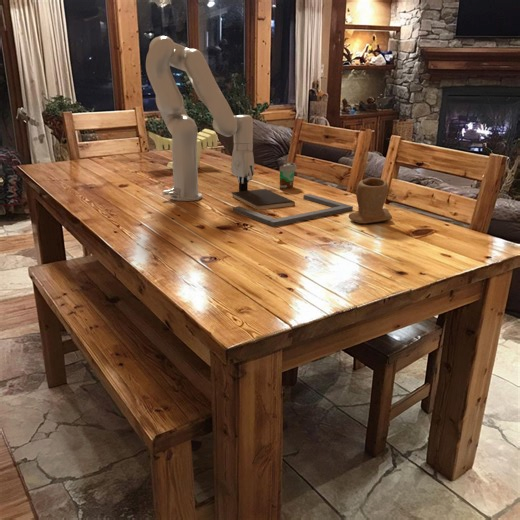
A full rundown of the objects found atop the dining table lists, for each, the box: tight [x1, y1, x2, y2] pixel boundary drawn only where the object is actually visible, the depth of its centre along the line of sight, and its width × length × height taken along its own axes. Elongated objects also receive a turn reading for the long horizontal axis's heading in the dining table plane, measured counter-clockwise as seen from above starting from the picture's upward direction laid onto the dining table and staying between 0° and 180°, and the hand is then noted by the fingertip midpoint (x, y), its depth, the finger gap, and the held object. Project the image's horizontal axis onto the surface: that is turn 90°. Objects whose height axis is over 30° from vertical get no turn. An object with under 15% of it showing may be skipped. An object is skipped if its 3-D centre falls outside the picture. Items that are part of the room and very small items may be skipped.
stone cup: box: [348, 177, 393, 224], centre depth 189 cm, size 15×12×15 cm
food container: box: [279, 161, 297, 190], centre depth 240 cm, size 12×6×10 cm, turn 168°
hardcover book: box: [231, 188, 296, 211], centre depth 218 cm, size 16×23×2 cm
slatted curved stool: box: [148, 128, 218, 170], centre depth 279 cm, size 30×16×18 cm, turn 117°
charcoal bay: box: [232, 193, 354, 227], centre depth 204 cm, size 37×24×2 cm, turn 127°
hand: (243, 192), depth 228 cm, fingers closed
